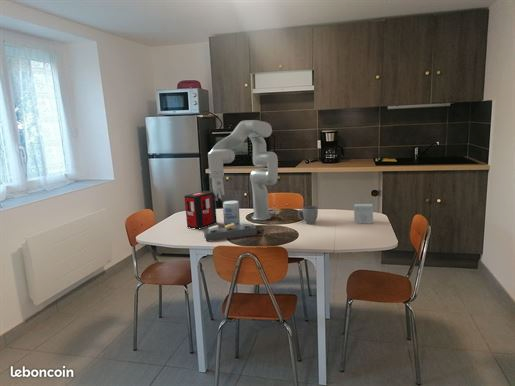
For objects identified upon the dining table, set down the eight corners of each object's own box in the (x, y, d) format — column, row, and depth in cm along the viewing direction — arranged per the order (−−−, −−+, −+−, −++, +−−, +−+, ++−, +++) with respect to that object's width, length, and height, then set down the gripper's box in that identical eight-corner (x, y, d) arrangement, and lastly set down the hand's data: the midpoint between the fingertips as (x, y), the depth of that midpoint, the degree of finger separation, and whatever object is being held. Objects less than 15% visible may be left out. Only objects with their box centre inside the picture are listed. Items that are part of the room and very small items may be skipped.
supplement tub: (226, 228, 227) (224, 204, 225) (222, 224, 236) (221, 201, 234) (242, 226, 230) (240, 202, 227) (238, 222, 239) (236, 199, 236)
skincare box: (372, 220, 227) (372, 203, 225) (373, 223, 221) (373, 206, 219) (354, 220, 230) (354, 203, 228) (354, 223, 224) (354, 206, 222)
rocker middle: (233, 224, 214) (233, 222, 214) (235, 226, 211) (234, 224, 211) (225, 227, 213) (224, 225, 213) (226, 229, 210) (225, 227, 210)
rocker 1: (217, 226, 212) (217, 224, 212) (218, 228, 209) (218, 226, 208) (208, 229, 211) (208, 227, 211) (209, 231, 208) (209, 229, 207)
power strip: (261, 229, 222) (261, 221, 221) (265, 233, 214) (265, 225, 213) (204, 237, 213) (203, 228, 212) (206, 241, 206) (205, 232, 205)
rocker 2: (249, 224, 217) (249, 222, 217) (251, 226, 213) (251, 224, 213) (240, 223, 215) (240, 221, 215) (242, 225, 212) (242, 223, 212)
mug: (319, 221, 232) (318, 205, 230) (316, 225, 224) (316, 209, 222) (299, 221, 236) (298, 205, 234) (296, 225, 227) (296, 209, 225)
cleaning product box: (206, 221, 247) (204, 190, 243) (216, 223, 241) (214, 191, 237) (187, 228, 234) (184, 195, 230) (197, 229, 228) (194, 197, 225)
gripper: (225, 175, 199) (228, 210, 202) (221, 171, 213) (224, 204, 217) (211, 176, 197) (214, 211, 201) (207, 173, 211) (210, 205, 215)
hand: (219, 207), depth 209 cm, fingers closed
